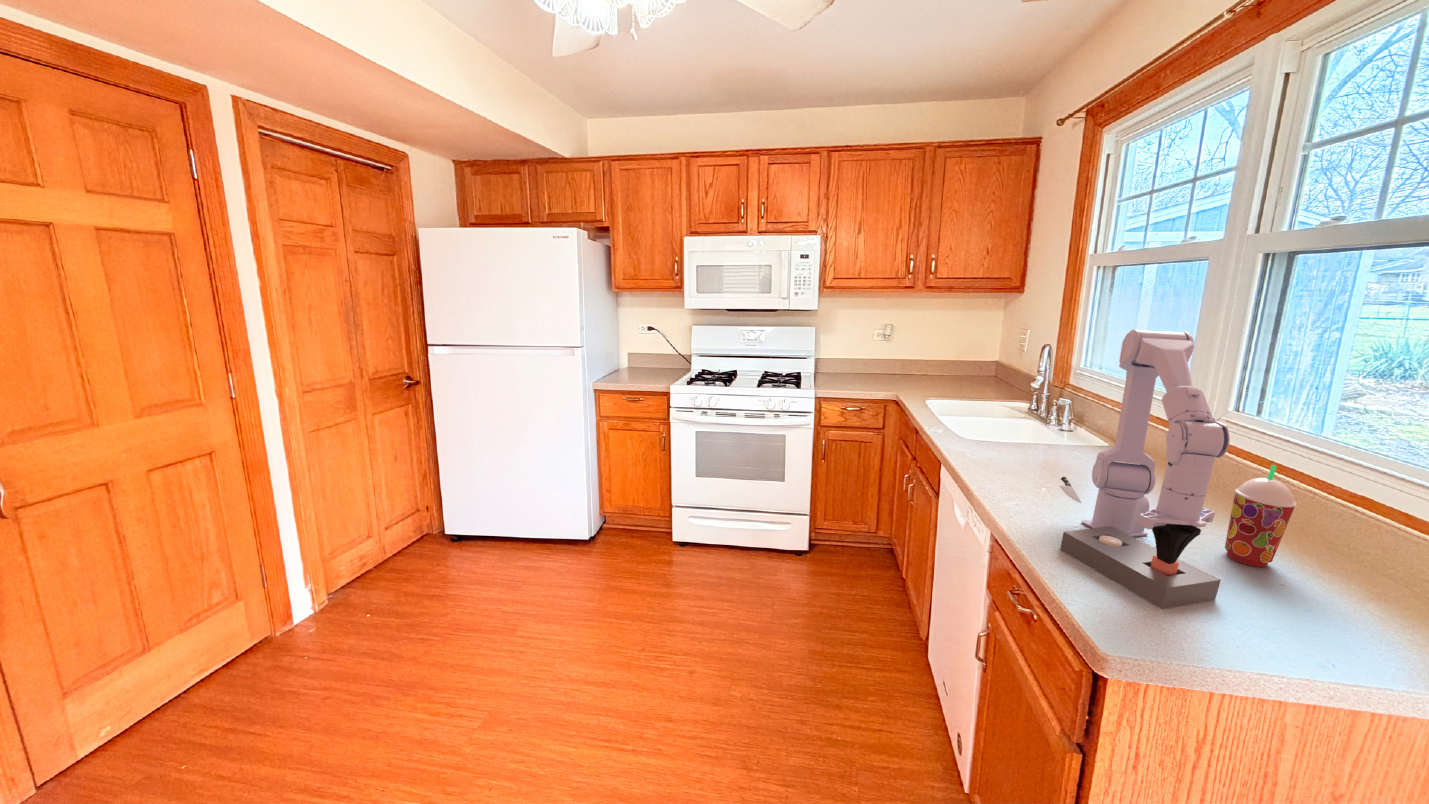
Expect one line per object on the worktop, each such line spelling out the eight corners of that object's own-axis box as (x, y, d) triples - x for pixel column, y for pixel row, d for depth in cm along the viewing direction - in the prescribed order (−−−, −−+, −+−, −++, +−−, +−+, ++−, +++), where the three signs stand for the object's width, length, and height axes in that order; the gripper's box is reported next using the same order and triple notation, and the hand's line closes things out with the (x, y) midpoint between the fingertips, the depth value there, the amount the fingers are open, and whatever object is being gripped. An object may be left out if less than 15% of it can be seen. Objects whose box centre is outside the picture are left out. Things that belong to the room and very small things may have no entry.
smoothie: (1259, 553, 108) (1287, 461, 103) (1287, 575, 100) (1318, 476, 95) (1209, 546, 111) (1234, 455, 106) (1232, 566, 103) (1259, 469, 98)
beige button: (1106, 548, 106) (1109, 534, 106) (1123, 557, 103) (1127, 543, 102) (1092, 550, 105) (1095, 536, 105) (1109, 559, 102) (1112, 545, 101)
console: (1106, 543, 111) (1110, 526, 110) (1214, 600, 92) (1220, 579, 91) (1060, 549, 108) (1063, 531, 107) (1161, 609, 89) (1167, 587, 88)
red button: (1159, 569, 97) (1162, 554, 96) (1180, 580, 93) (1184, 564, 92) (1143, 571, 96) (1147, 556, 95) (1164, 582, 92) (1168, 567, 92)
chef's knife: (1069, 505, 130) (1083, 507, 129) (1069, 501, 130) (1084, 502, 129) (1053, 478, 147) (1065, 479, 146) (1053, 474, 147) (1066, 475, 146)
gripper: (1176, 502, 85) (1157, 577, 88) (1242, 495, 88) (1221, 568, 92) (1132, 485, 92) (1116, 556, 95) (1196, 479, 95) (1178, 548, 98)
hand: (1165, 560), depth 94 cm, fingers closed, pressing on red button
